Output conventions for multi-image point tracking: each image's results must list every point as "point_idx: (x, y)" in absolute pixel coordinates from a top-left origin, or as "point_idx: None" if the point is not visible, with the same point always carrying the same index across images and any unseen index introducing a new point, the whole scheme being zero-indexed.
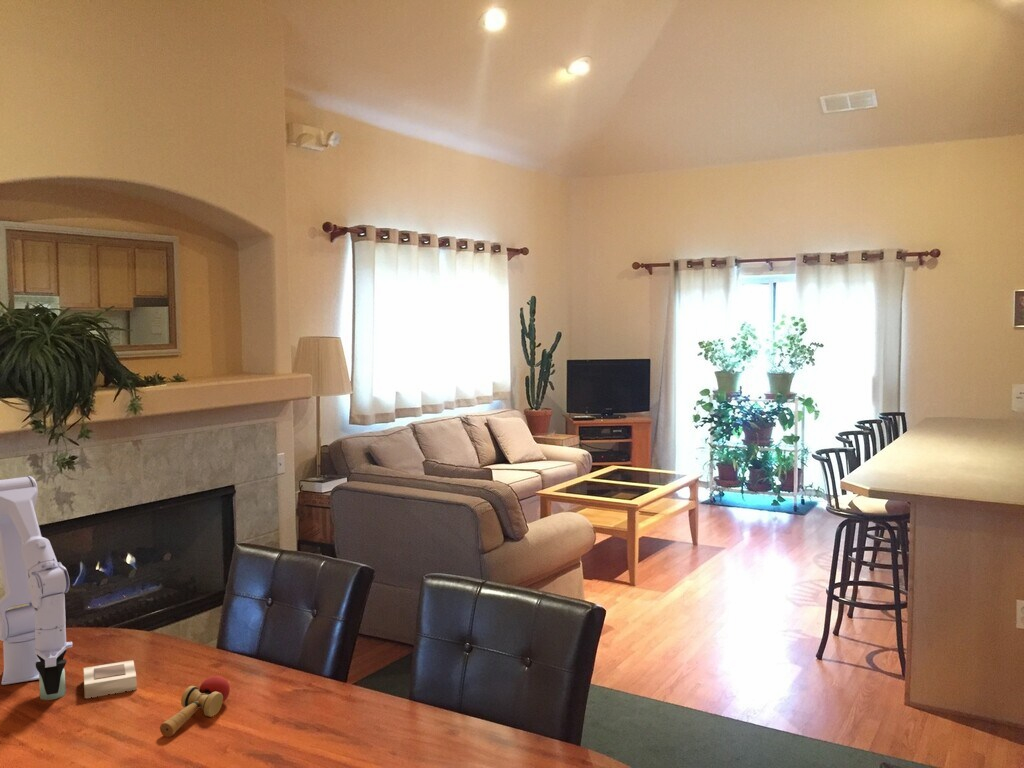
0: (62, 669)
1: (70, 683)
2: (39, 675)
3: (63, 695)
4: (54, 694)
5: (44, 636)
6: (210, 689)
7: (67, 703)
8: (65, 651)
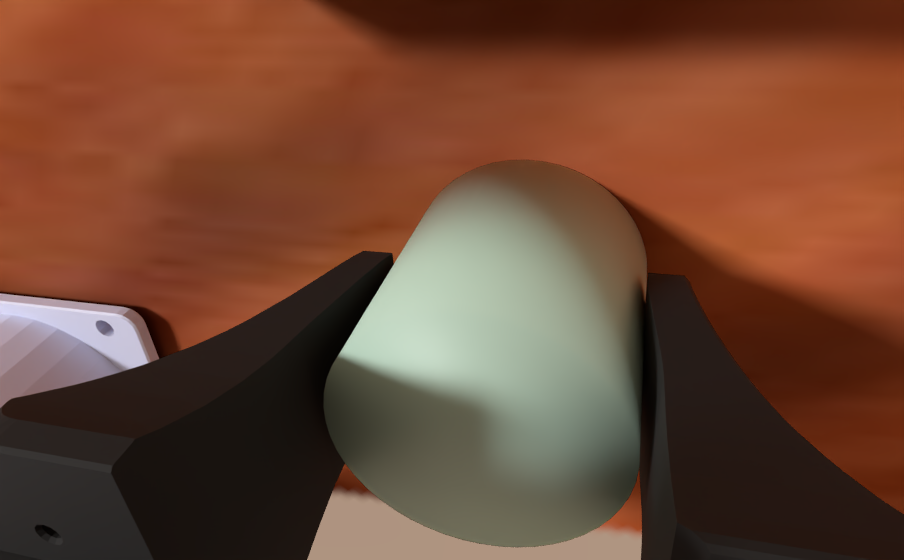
0: (868, 494)
1: (273, 105)
2: (521, 544)
3: (597, 183)
4: (644, 288)
5: None
6: None
7: (875, 152)
8: (142, 448)
